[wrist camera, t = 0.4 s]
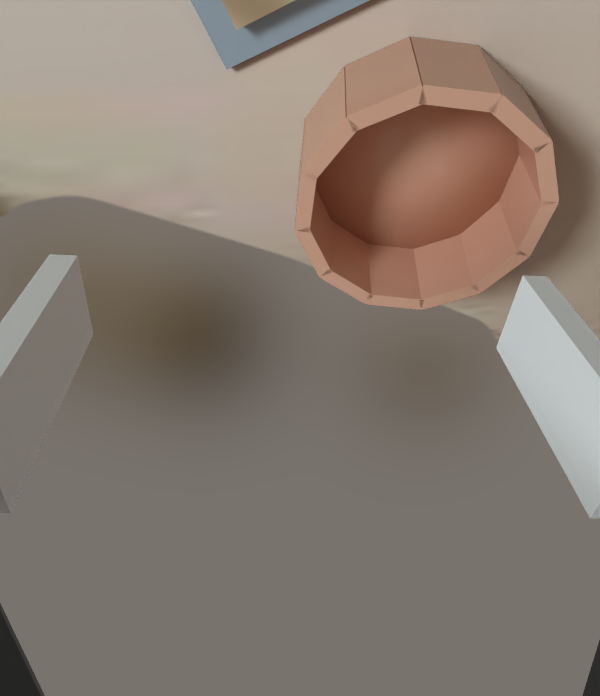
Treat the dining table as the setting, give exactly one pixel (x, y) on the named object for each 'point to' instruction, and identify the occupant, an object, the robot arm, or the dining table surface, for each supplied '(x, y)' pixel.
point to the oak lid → (251, 10)
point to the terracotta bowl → (423, 176)
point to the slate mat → (264, 26)
